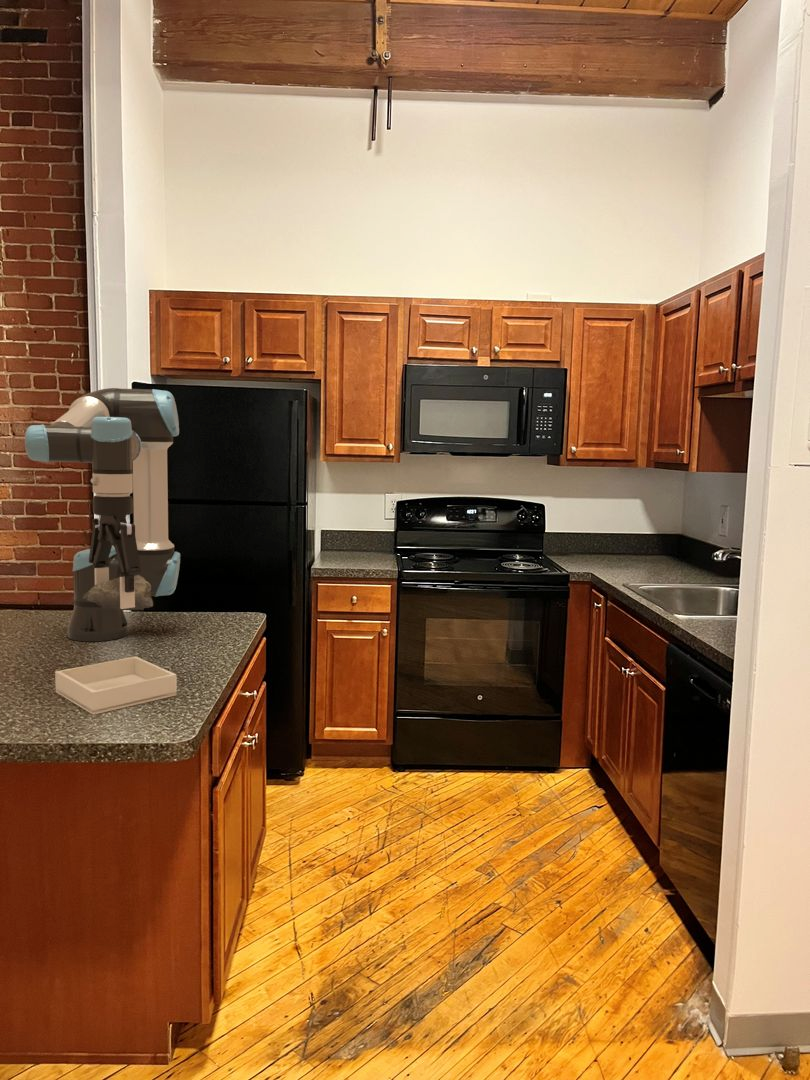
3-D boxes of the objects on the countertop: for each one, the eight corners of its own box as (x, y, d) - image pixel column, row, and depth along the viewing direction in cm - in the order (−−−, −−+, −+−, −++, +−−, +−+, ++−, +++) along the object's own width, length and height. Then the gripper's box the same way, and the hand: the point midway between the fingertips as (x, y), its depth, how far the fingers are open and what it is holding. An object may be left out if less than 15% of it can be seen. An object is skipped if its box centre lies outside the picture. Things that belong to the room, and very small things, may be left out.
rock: (80, 611, 153) (80, 579, 152) (86, 603, 161) (86, 572, 160) (152, 610, 156) (152, 578, 156) (154, 602, 164) (154, 571, 164)
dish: (55, 692, 160) (55, 671, 160) (136, 675, 173) (135, 656, 172) (93, 714, 148) (92, 692, 148) (176, 695, 161) (176, 674, 160)
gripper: (69, 491, 161) (72, 596, 163) (121, 499, 145) (123, 615, 147) (105, 490, 166) (106, 592, 169) (158, 498, 150) (159, 610, 153)
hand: (114, 603), depth 158 cm, fingers closed on rock, 11 cm apart
